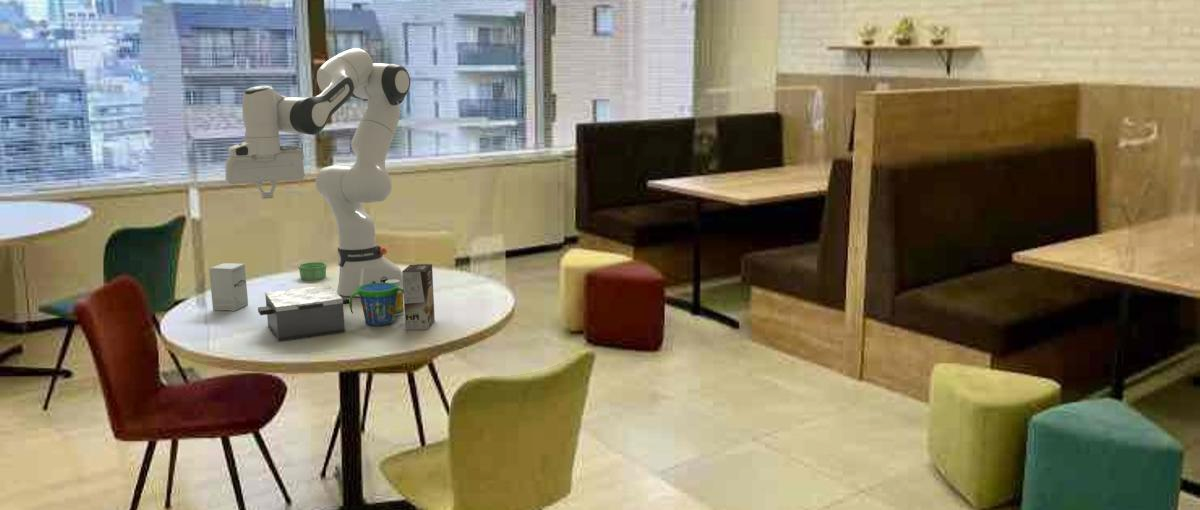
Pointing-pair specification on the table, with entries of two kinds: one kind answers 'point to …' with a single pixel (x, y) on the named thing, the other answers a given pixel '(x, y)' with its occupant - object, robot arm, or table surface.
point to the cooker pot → (305, 321)
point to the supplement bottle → (397, 298)
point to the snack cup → (377, 302)
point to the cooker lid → (303, 298)
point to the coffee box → (418, 296)
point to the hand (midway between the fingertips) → (267, 198)
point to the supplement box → (228, 286)
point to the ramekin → (312, 270)
